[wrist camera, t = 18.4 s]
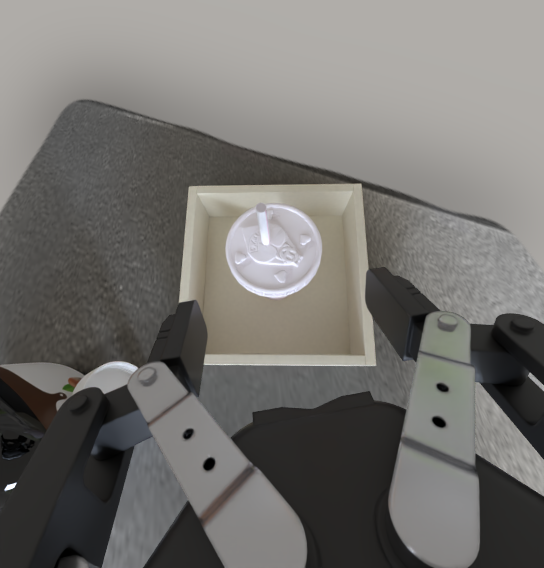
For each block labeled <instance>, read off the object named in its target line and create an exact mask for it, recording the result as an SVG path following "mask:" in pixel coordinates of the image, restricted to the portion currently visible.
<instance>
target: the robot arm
mask: <svg viewBox="0 0 544 568" xmlns="http://www.w3.org/2000/svg"><path fill="white" fill-rule="evenodd" d="M365 302H366V306H367V309H368V310H369V312H370V313H371V315H372V316H373V318H374V319H375V321H376V322H377V324H378V325H379V327H380V328H381V330H382V331H383V332H384V334H385V335H386V337H387V338H388V340H389V341H390V343H391V344H392V346H393V347H394V349H395V350H396V352H397V353H398V355H399V356H400V357H401V359H402V360H403V361H407V360H412V359H414V360H415V362H416V367H415V371H414V376H413V381H412V386H411V391H410V396H409V400H408V405H407V410H405V409H403V408H401V407H399V406H396V405H394V404H390V403H387V402H382V401H374V400H373V398H372V395H371V393H370V391H368V392H362V393H357V394H351V395H346V396H341V397H339V398H336V399H334V400H332V401H330V402H328V403H325V404H323V405H321V406H319V407H317V408H314V409H302V408H286V407H280V408H274V409H269V410H263V411H258V412H253V422H252V423H250V424H248V425H247V426H245V427H243V428H242V429H240V430H239V431H238V432H237V433H235V434H234V435H233V436H232V437H231V438H230V437H229V436H228V435H227V433H226V432H225V431H224V430H223V429H222V427H221V426H220V425H219V424H218V423H217V421H216V420H215V419H214V418H213V417H212V415H211V414H210V413H209V412H208V411H207V409H206V408H205V407H204V406H203V405H202V403H201V402H200V401H199V400H198V399H197V397H199V391H200V385H201V378H202V372H203V365H204V358H205V352H206V345H207V338H208V333H207V327H206V323H205V321H204V318H203V315H202V312H201V309H200V307H199V304H198V302H197V300H191V301H185V302H180V303H179V305H178V307H177V310H176V313H175V314H173V315H169V316H168V318H167V319H166V320H165V321H164V322H163V323H162V326H161V328H160V331H159V333H158V336H157V340H156V341H155V344H154V346H153V349H152V351H151V354H150V357H149V359H148V362H147V364H145V365H143V366H141V367H140V368H138V369H137V370H136V371H135V372H134V373H133V374H132V375H131V376H130V378H129V380H128V384H126V385H124V386H122V387H120V388H117V389H115V390H113V391H110V392H108V393H106V394H104V393H103V392H102V390H101V389H100V388H97V387H89V388H86V389H83V390H81V391H79V392H77V393H75V394H73V395H72V396H71V397H69V398H68V399H67V400H66V401H65V402H64V403H63V404H62V405H61V407H60V408H59V410H58V411H57V413H56V415H55V417H54V418H53V420H52V422H51V424H50V425H49V427H48V429H47V431H46V433H45V434H44V436H43V438H42V440H41V441H40V443H39V445H38V447H37V448H36V450H35V452H34V454H33V455H32V457H31V459H30V461H29V462H28V464H27V466H26V468H25V469H24V471H23V473H22V475H21V476H20V478H19V480H18V482H17V483H16V485H15V487H14V489H13V490H12V492H11V494H10V496H9V497H8V499H7V501H6V503H5V504H4V506H3V508H2V510H1V511H0V568H101V567H102V564H103V560H104V556H105V553H106V549H107V545H108V542H109V538H110V534H111V530H112V527H113V523H114V519H115V516H116V512H117V508H118V505H119V501H120V497H121V493H122V490H123V486H124V482H125V479H126V475H127V471H128V468H129V464H130V460H131V457H132V453H133V449H134V445H136V444H138V443H140V442H142V441H144V440H146V439H148V438H150V437H152V436H153V437H154V439H155V441H156V442H157V444H158V446H159V448H160V450H161V451H162V453H163V455H164V457H165V459H166V460H167V462H168V464H169V466H170V468H171V469H172V471H173V473H174V475H175V477H176V478H177V480H178V482H179V484H180V486H181V487H182V489H183V491H184V493H185V495H186V496H187V498H188V501H187V502H186V504H185V505H184V507H183V508H182V510H181V511H180V513H179V514H178V516H177V517H176V519H175V521H174V522H173V524H172V525H171V527H170V528H169V530H168V531H167V533H166V534H165V536H164V537H163V539H162V540H161V542H160V543H159V545H158V546H157V548H156V549H155V551H154V552H153V554H152V555H151V557H150V558H149V560H148V561H147V563H146V564H145V566H144V567H143V568H544V496H542V495H540V494H539V493H537V492H536V491H534V490H532V489H531V488H529V487H528V486H526V485H525V484H523V483H521V482H520V481H518V480H517V479H515V478H514V477H512V476H510V475H509V474H507V473H506V472H504V471H503V470H501V469H499V468H498V467H496V466H495V465H493V464H491V463H490V462H488V461H487V460H485V459H484V458H482V457H480V456H479V455H477V454H476V453H475V382H479V383H480V384H481V385H482V386H483V387H484V388H485V390H486V391H487V392H488V393H489V394H490V396H491V397H492V398H493V399H494V400H495V402H496V403H497V404H498V405H499V406H500V408H501V409H502V410H503V411H504V412H505V414H506V415H507V416H508V417H509V418H510V420H511V421H512V422H513V423H514V424H515V426H516V427H517V428H518V429H519V430H520V432H521V433H522V434H523V435H524V436H525V438H526V439H527V440H528V441H529V442H530V444H531V445H532V446H533V447H534V448H535V450H536V451H537V452H538V453H539V454H540V456H541V457H542V458H543V459H544V391H543V390H542V389H541V388H539V387H538V386H537V385H536V384H535V383H534V382H533V381H532V380H531V379H530V378H529V377H528V375H529V373H532V374H533V375H534V376H535V377H536V378H537V379H538V380H539V381H540V382H541V383H542V384H543V385H544V324H542V323H541V322H539V321H538V320H536V319H533V318H531V317H528V316H525V315H520V314H510V313H509V314H502V315H500V316H498V317H497V318H496V321H495V323H494V325H481V324H469V322H468V321H467V320H466V319H465V318H463V317H462V316H460V315H458V314H455V313H452V312H447V311H440V310H439V309H438V308H437V307H436V306H435V305H434V304H433V303H432V302H431V301H429V300H428V299H427V298H426V297H425V296H424V295H423V294H421V292H420V291H419V290H418V289H417V288H415V286H414V285H413V284H411V283H410V282H409V281H408V280H406V279H404V278H402V277H400V276H398V275H397V276H393V275H392V274H391V273H390V272H389V271H388V270H387V269H386V268H385V267H381V268H376V269H370V270H367V272H366V285H365Z"/></svg>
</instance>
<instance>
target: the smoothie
mask: <svg viewBox="0 0 544 568" xmlns="http://www.w3.org/2000/svg"><path fill="white" fill-rule="evenodd" d="M225 250H226V258H227V262H228V265H229V267H230V269H231V272H232V274H233V275H234V277H235V278H236V280H237V281H238V282H239V283H240V284H241V285H242V286H243V287H245V288H246V289H247V290H248V291H251V292H253V293H255V294H258V295H260V296H265V297H266V298H268V299H271V300H282V299H285V298H286V297H288V296H289V295H290V294H292V293H295V292H297V291H299V290H300V289H302V288H303V287H304V286H306V285H307V284H308V283H309V282H310V281H311V279H312V278H313V277H314V276H315V274H316V272H317V270H318V267H319V265H320V261H321V255H322V240H321V236H320V233H319V231H318V228H317V227H316V225H315V223H314V222H313V221H312V219H311V218H310V217H309V216H308V215H307V214H305V213H304V212H303V211H301V210H299V209H298V208H296V207H293V206H291V205H287V204H282V203H266V204H264V203H258V204H257V205H256V206H255V207H253V208H251V209H249V210H248V211H246V212H245V213H243V214H242V215H241V216H240V217H239V218H238V219H237V220H236V221H235V222H234V224H233V225H232V227H231V229H230V231H229V233H228V236H227V240H226V248H225Z"/></svg>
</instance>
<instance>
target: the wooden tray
mask: <svg viewBox="0 0 544 568" xmlns="http://www.w3.org/2000/svg"><path fill="white" fill-rule="evenodd" d="M258 203H264V204H266V203H282V204H287V205H291V206H293V207H296V208H298V209H299V210H301V211H303V212H304V213H305V214H307V215H308V216H309V217H310V218H311V219H312V221H313V222H314V223H315V225H316V227H317V228H318V231H319V233H320V236H321V240H322V255H321V261H320V265H319V267H318V270H317V272H316V274H315V276H314V277H313V278H312V279H311V281H310V282H309V283H308V284H307V285H306V286H304V287H303V288H302V289H300V290H299V291H297V292H295V293H292V294H290V295H289V296H288V297H286V298H285V299H282V300H271V299H268V298H266V297H265V296H260V295H258V294H255V293H253V292H251V291H248V290H247V289H246V288H245V287H243V286H242V285H241V284H240V283H239V282H238V281H237V280H236V278H235V277H234V275H233V274H232V272H231V269H230V267H229V265H228V262H227V258H226V250H225V248H226V240H227V236H228V233H229V231H230V229H231V227H232V225H233V224H234V222H235V221H236V220H237V219H238V218H239V217H240V216H241V215H242V214H243V213H245V212H246V211H248V210H249V209H251V208H253V207H255V206H256V205H257V204H258ZM367 270H369V269H368V256H367V244H366V232H365V219H364V207H363V195H362V184H298V185H229V186H189V192H188V203H187V215H186V226H185V238H184V250H183V261H182V273H181V284H180V296H179V303H180V302H185V301H191V300H197V302H198V304H199V307H200V309H201V312H202V315H203V318H204V321H205V323H206V327H207V333H208V338H207V345H206V352H205V358H204V365H308V366H376V356H375V343H374V331H373V318H372V315H371V313H370V312H369V310H368V309H367V306H366V302H365V285H366V272H367Z"/></svg>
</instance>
